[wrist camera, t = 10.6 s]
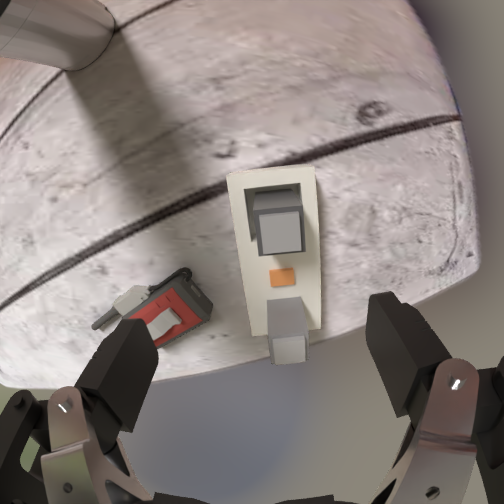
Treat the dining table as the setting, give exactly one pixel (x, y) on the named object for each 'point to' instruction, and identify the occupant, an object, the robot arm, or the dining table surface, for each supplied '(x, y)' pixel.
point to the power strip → (279, 263)
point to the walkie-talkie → (164, 307)
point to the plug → (279, 222)
